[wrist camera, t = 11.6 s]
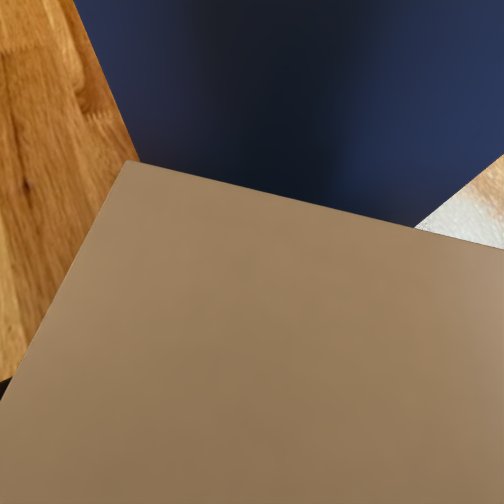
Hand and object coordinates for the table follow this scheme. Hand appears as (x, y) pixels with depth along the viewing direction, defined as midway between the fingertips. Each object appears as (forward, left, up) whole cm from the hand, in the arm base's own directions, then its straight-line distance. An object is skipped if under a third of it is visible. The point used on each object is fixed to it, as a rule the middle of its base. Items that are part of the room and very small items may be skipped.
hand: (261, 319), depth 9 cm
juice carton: (-2, 0, -7) cm, 7 cm away
